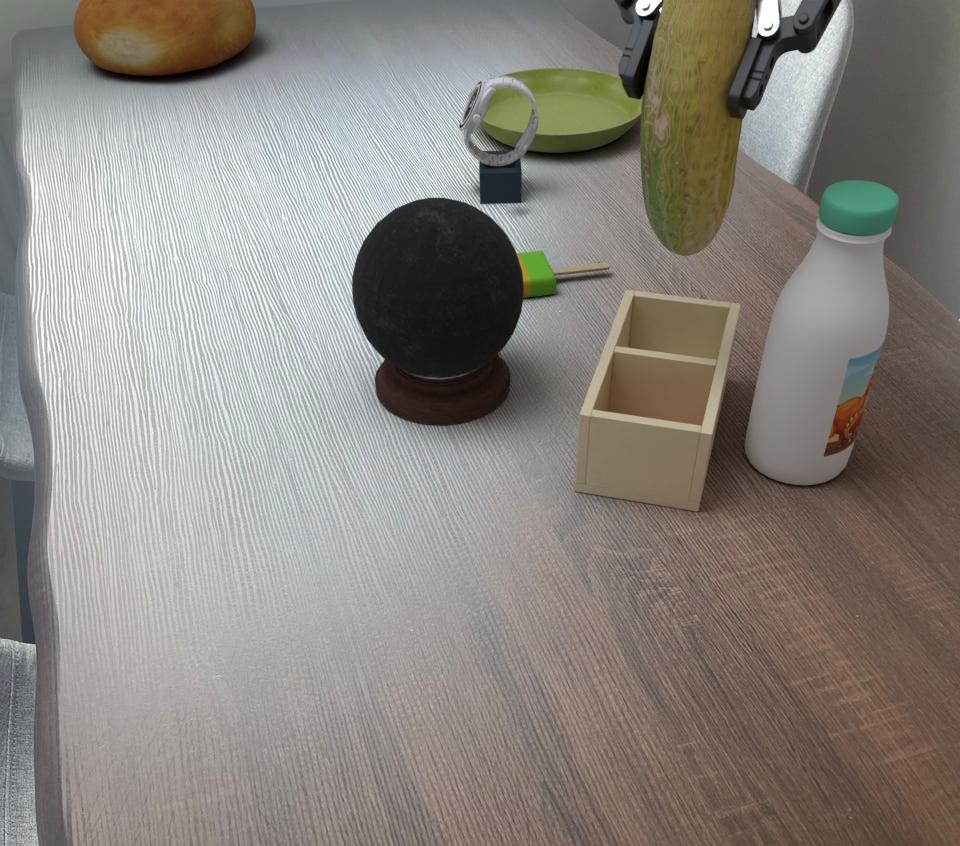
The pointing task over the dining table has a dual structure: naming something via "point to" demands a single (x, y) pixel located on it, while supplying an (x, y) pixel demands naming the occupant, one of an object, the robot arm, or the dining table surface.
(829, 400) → the milk bottle
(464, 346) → the black ball on stand
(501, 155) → the watch
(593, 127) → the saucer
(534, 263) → the popsicle
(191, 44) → the bread
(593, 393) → the wooden divided box
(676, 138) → the vegetable
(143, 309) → the dining table surface
